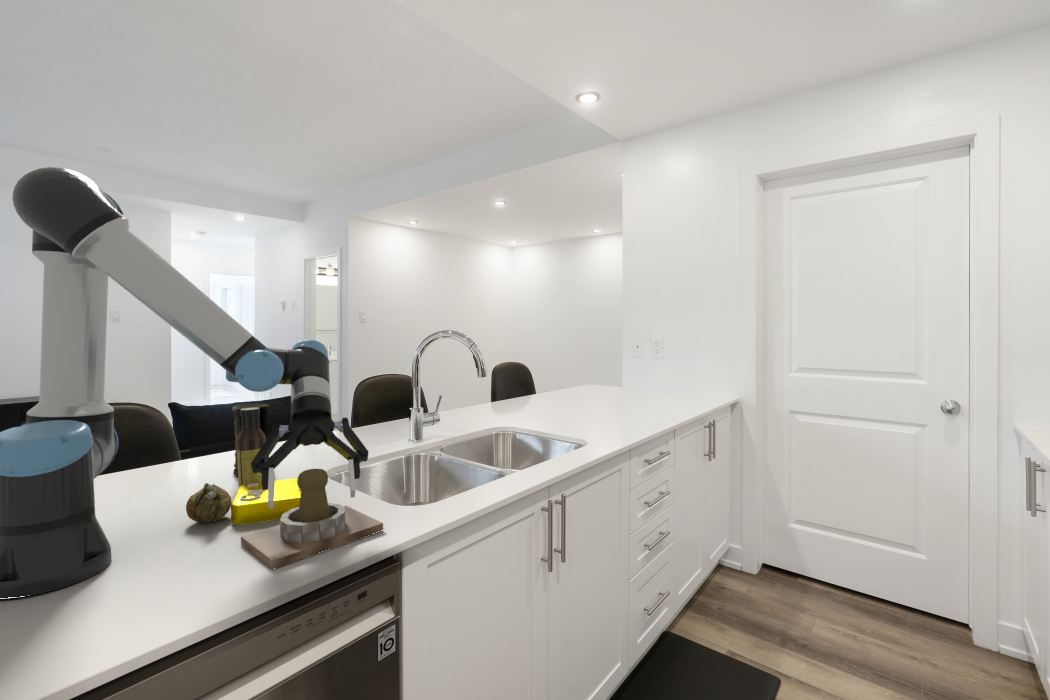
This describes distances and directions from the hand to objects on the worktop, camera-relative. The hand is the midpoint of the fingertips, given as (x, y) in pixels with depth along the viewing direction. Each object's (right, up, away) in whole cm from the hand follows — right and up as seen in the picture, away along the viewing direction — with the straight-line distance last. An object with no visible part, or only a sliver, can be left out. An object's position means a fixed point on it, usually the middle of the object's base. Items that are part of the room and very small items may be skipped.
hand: (313, 499), depth 89 cm
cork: (-1, -6, +3) cm, 7 cm away
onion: (-25, -8, +11) cm, 29 cm away
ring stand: (-1, -8, +3) cm, 8 cm away
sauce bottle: (-26, -7, +27) cm, 38 cm away
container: (-35, -6, +44) cm, 56 cm away
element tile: (-16, -8, +18) cm, 25 cm away
